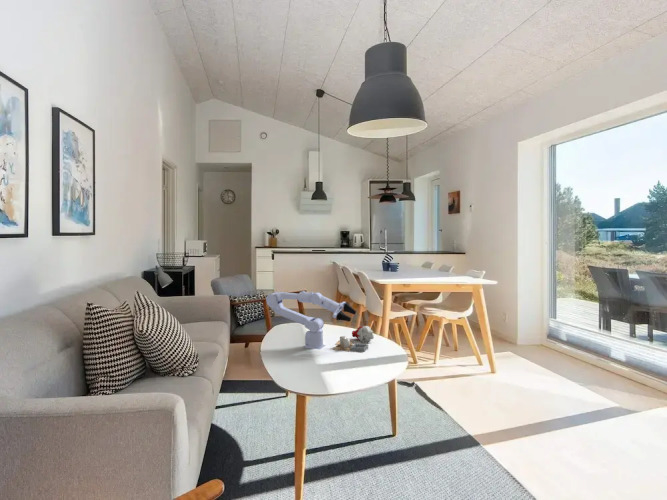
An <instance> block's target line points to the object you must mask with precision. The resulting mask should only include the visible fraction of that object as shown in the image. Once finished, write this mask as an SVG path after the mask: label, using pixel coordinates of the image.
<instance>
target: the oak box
mask: <svg viewBox="0 0 667 500" xmlns="http://www.w3.org/2000/svg"><path fill="white" fill-rule="evenodd" d="M354 344H355V343H352V344H350V348H341V347H340V344H338V345H336V346H334V347H333V349H334V350H335V351H336V350H337V351H343V352H344V351H346V352H347V351H348V352H350V351H351V346H353V345H354ZM351 352H352V351H351Z"/></svg>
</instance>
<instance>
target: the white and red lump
mask: <svg viewBox="0 0 667 500" xmlns="http://www.w3.org/2000/svg"><path fill="white" fill-rule="evenodd" d="M373 333H374V331H373V330H372V329H371V327H370V326H368V325H363V326H359V327H357V329H356V330H353V331H351V336H352V337H353V338H357V340H359V341H360V342H362V343H363V342H365V343H369V342H370V341H372V340H373V339H374V334H373Z"/></svg>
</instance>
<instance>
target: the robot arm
mask: <svg viewBox="0 0 667 500" xmlns="http://www.w3.org/2000/svg"><path fill="white" fill-rule="evenodd" d="M283 300H297V301H298V302H299V303H307V304H308V303H309V304H313V305H317V306H319V307H321V308H324V309H325V310H328V311H330V312H331V313H333V314H332V315H331V316H332V318H333V319H335V320H336V321H345V322H348V323H349V322H351V321H352V317H350V316H349V315H347V314H345V313H344V312H347V313H349V314H352V315H356V313H357V310H355V309H354V308H353V306H351V305H350V303H349V302H348V301H342V302H337V301H336V300H333V299H331V298H328V297H327V296H324V295H323V294H322V293H321V292H318V291H316V292H314V291H311V292H309V291H306V290H302V291H300V292H299V293H296V292H295V293H294V292H286V291H275V292H273V293H269V294H268V295H267V296H266V297H265V301H266V304H267V306H268V307H269V308H271V310H272V311H273V312H274V313H275V314H276V315H278V316H281V317H283V318H286V319H288V320H291V321H293V322H295V323H297V324H300V325H302V326H304V328H305V329H307V331H306V332H305V335H304V344H305V345H304V349H313V350H321V349H322V348H324V347H326V344H324V339H323V338H324V335H323V334H324V333H323V331H324V330H323V327H324V325H325V323H324V322H325V321H324V320H323V319H322V318H320V317H317V318H316V317H313V316H307V315H305V314H302V313H300V312H298V311H294V310H292V309H291V308H287V307H285V305H284V304H283V303H284V301H283Z"/></svg>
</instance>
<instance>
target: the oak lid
mask: <svg viewBox="0 0 667 500" xmlns="http://www.w3.org/2000/svg"><path fill="white" fill-rule="evenodd" d="M354 342H355V341H354V340H350V344H354ZM338 344H340V339H339V340H338V341H336V343H335V344H334V345H336V346H337V345H338Z"/></svg>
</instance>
